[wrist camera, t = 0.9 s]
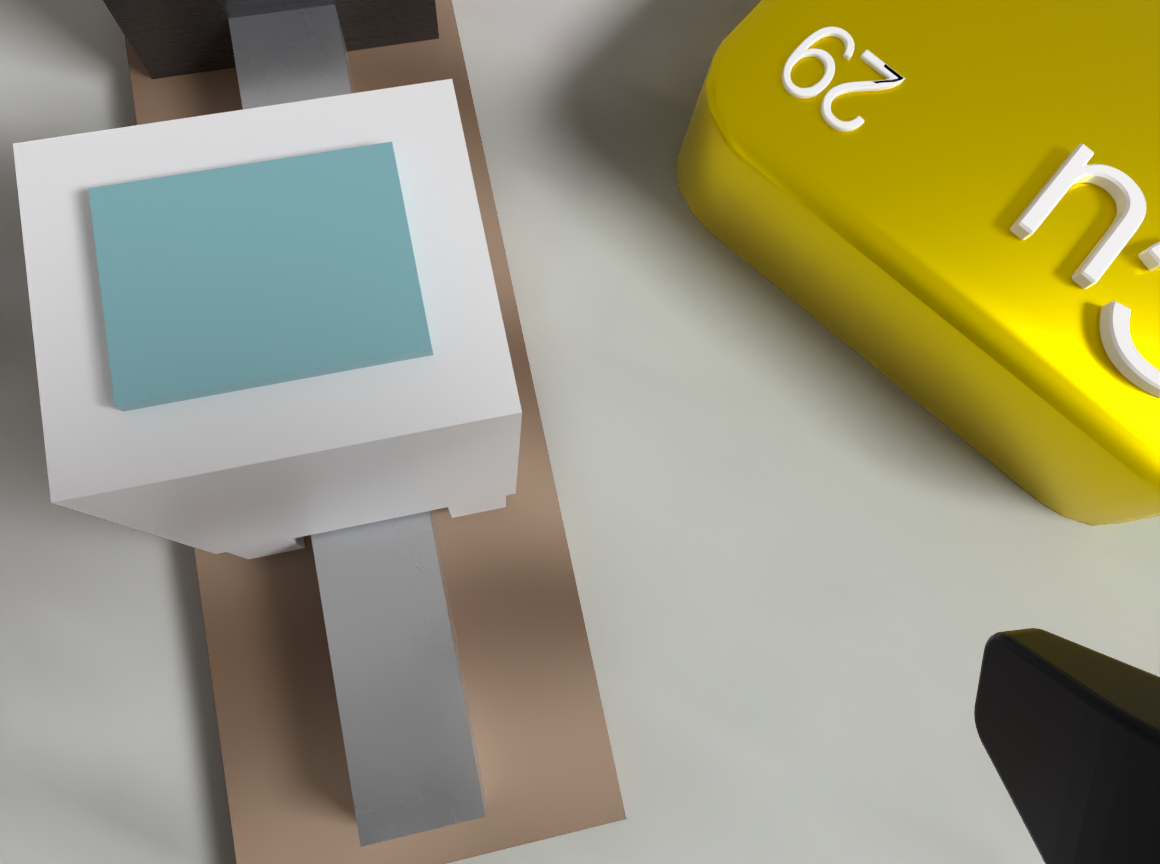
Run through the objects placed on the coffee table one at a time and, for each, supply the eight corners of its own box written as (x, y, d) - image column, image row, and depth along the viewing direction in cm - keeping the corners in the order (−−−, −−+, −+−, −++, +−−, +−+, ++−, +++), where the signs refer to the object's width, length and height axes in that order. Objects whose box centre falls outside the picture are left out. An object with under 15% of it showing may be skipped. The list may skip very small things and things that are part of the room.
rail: (593, 776, 20) (618, 813, 16) (261, 856, 20) (188, 919, 15) (425, -31, 24) (407, -183, 20) (142, 7, 23) (57, -143, 19)
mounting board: (621, 812, 21) (626, 818, 20) (253, 903, 20) (243, 913, 19) (439, -45, 25) (437, -67, 25) (128, -4, 24) (116, -25, 24)
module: (514, 505, 21) (522, 407, 12) (239, 561, 20) (39, 499, 12) (471, 295, 22) (450, 66, 13) (207, 341, 21) (1, 131, 13)
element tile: (1384, 157, 27) (1570, 55, 22) (1101, 562, 24) (1248, 543, 19) (963, -159, 28) (1054, -320, 23) (640, 185, 25) (671, 79, 20)
